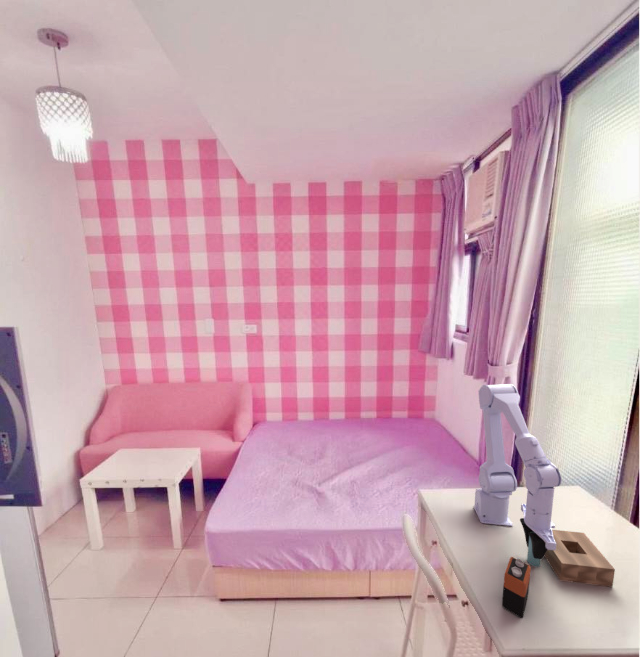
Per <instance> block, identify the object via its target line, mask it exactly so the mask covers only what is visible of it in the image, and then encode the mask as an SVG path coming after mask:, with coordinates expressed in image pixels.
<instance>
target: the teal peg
mask: <svg viewBox="0 0 640 657" xmlns="http://www.w3.org/2000/svg"><path fill="white" fill-rule="evenodd" d="M530 533H535V532H530ZM526 556H527V557H526V561H527V564H528V565H529V564H530V566H531V567H537V568H539V567H541V561H542V559H535V558H534V557H533V553H532V542H531V538H530V536H529V545H528V547H527V555H526Z"/></svg>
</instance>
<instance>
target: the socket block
mask: <svg viewBox="0 0 640 657" xmlns="http://www.w3.org/2000/svg"><path fill="white" fill-rule="evenodd" d="M552 532H553V537H554V540H555V542H556V550H549V549H548V550H547V551H546V553H545V555H544V557H545V559H546V561H547V562H548V564H549V565H550V567H551V569H552V570H553V571H554V573H555V575H556V577H557V578H558V580H559V581H562V582H563V581H564V582H568V583H569V582H570V583H571V582H572V583H578V584H587V585H594V586H596V585H597V586H602V587H610V588H612V587H613V584H614V580H615V579H614V578H615V572H616V571H615V570H616V569H615V567H613V565H612V564H611V563H610V562H609V561H608V559H607V558H606V557H605V556H604V554H603V553H602V552H601V551H600V550H599V549H598V548H597V546H596V545H595V544H594V543H593V541H591V540H590V538H589V537H588V536H587V535H586V533H584V532H582V531H581V532H579V531H570V530H560V529H559V530H558V529H552Z"/></svg>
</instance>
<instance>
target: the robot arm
mask: <svg viewBox="0 0 640 657" xmlns="http://www.w3.org/2000/svg"><path fill="white" fill-rule="evenodd" d="M478 401H479V402H478V403H479V409H480V410H482V417H483V429H484V439H485V440H484V441H485V448H486V449H485V450H486V461H484V462H483V463H482V464H481V465H480V466H479V474H478V483H479V486H480V488H476V489H475V492H474V505H473V509H474V510H475V513H476V514H477V517H478V519H479V522H480V523H481V524H486V525H487V524H488V525H497V526H508V527H512V526H514V524H513V522H512V521H511V519H510V517H509V504H510V496H512V495H513V493H514V492H515V491H517V488H518V481H517V478H516V476H515V471H514V469H513V467H512V466H511V465H509V464H508V463H507V462H506V455H505V444H504V435H503V427H502V426H503V424H502V414H503V415H504V417H505V419H506V421H507V422H508V424H509V427H510V428H511V430H512V431H513V434H514V435H515V436H516V438H515V441H514V444H515V447H516V449H517V452H518V454H519V456H520V458H521V460H522V462H523V465H524V467H525V468H524V469H523V477H524V479H525V488H526V490H527V493H526V502H525V503H521V505H520V510H521V512H522V515H523V518H522V517H521V518H520V519H519V521H520V523H521V525H522V526H521V527H522V529H523V532H524V538H525V544H526V546H527V548H528V545H529V536H530V538H531V542H532V553H533V557H534V558H535V559H541V560H543V559H544V557H545V556H544V555H545V553H546V551H547V550H548V549H549V550H556V542H555V540H554V537H553V532H552V530H553V529H555V528H556V525H555V523H554V522H553V521H552V515H553V514H552V513H553V506H554V495H555V488H556V487H557V488H558V487H560V486H561V484H562V476H561V472H560V470H559V469H558V466H556V465H555V464H554V463H552V461H551V460H550V459H549V458H547V455H546V454H545V451H544V450H543V448H542V446H541V444H540V442H539V440H538V438H537V437H536V436H534V435H532V434H530V430H529V429H528V427H527V424H526V420H525V418H524V416H523V413H522V410H521V407H520V406H519V404H520V403H521V402H520V401H521V396H520V394H519V391H518V389H517V387H516V386H515V385H514V384H512V383H505V384H482V385H481V387H480V388H479V390H478ZM501 413H502V414H501ZM530 532H535V533H530Z"/></svg>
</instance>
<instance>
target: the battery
mask: <svg viewBox="0 0 640 657" xmlns="http://www.w3.org/2000/svg"><path fill="white" fill-rule="evenodd" d="M531 567H532V566H531V564H530V565H529V563H526V562H524V561H523V560H522V559H519V558H516V557H514V556H510V558H509V561H508V563H507V566H506V568H505V572H504V576H503V577H504V578H503V588H502V589H503V590H502V598H501V599H502V600H501V606H502V608H504V609H505V610H507V611H508V612H511V613H512V614H514V615H516V616H518V617H519V618H521V619H522V618H523V617H524V614H525V611H526V608H527V607H526V606H527V603H528V599H529V591H530V580H531V573H532V572H531V571H532V568H531Z"/></svg>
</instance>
